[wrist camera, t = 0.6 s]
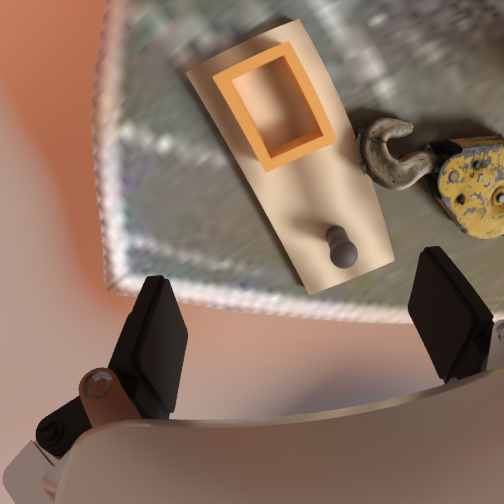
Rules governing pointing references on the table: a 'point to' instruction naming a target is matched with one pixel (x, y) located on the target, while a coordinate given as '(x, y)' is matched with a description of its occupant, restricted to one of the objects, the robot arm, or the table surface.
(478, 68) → the table surface
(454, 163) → the pulley block
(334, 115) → the keeper board
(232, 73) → the link
